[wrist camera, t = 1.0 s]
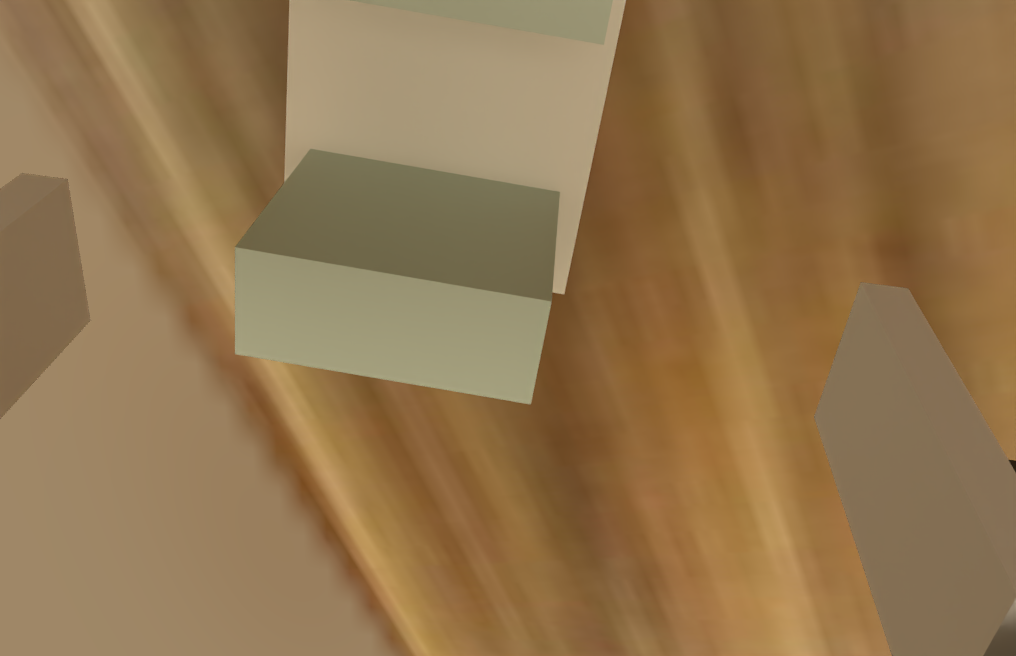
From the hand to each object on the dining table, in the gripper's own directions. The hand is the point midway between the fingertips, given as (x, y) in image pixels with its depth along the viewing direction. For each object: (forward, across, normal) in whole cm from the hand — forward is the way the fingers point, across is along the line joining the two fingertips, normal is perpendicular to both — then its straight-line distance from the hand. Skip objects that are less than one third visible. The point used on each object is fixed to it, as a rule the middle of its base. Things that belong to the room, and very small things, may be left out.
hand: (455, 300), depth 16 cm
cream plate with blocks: (+22, -3, -2) cm, 22 cm away
